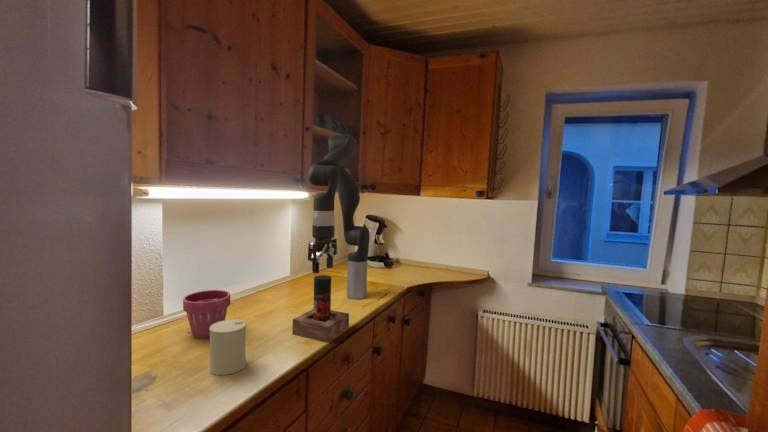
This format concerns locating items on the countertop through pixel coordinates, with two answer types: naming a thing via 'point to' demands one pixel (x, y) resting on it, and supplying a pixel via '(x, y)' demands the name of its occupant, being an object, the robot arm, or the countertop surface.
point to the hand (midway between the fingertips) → (322, 270)
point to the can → (227, 346)
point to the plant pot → (205, 310)
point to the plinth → (320, 326)
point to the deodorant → (322, 298)
